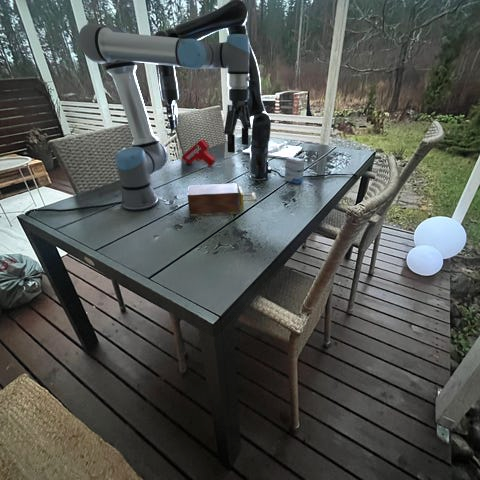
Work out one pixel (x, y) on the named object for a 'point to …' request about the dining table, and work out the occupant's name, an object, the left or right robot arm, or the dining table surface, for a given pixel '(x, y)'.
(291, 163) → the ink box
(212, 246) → the dining table surface
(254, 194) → the drawer
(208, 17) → the right robot arm
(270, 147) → the relief map
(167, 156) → the left robot arm
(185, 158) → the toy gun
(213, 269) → the dining table surface
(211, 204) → the cabinet
